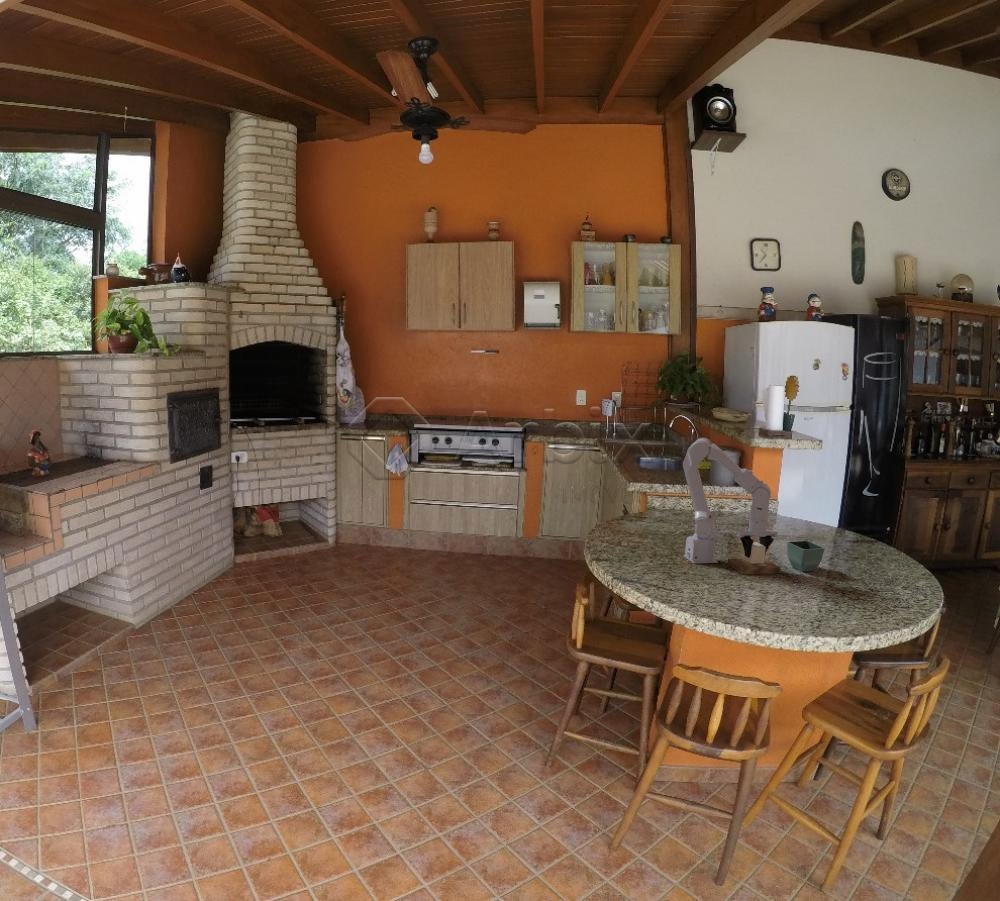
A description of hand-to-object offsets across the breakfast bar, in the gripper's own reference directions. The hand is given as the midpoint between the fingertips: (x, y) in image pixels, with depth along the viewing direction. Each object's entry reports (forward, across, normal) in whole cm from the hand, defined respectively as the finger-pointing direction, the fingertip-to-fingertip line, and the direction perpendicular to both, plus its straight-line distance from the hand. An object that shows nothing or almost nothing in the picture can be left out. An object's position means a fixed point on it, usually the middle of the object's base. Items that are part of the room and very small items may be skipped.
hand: (754, 556), depth 220 cm
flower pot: (+5, +18, -2) cm, 19 cm away
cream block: (+2, 0, 0) cm, 2 cm away
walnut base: (+4, 0, 0) cm, 4 cm away
